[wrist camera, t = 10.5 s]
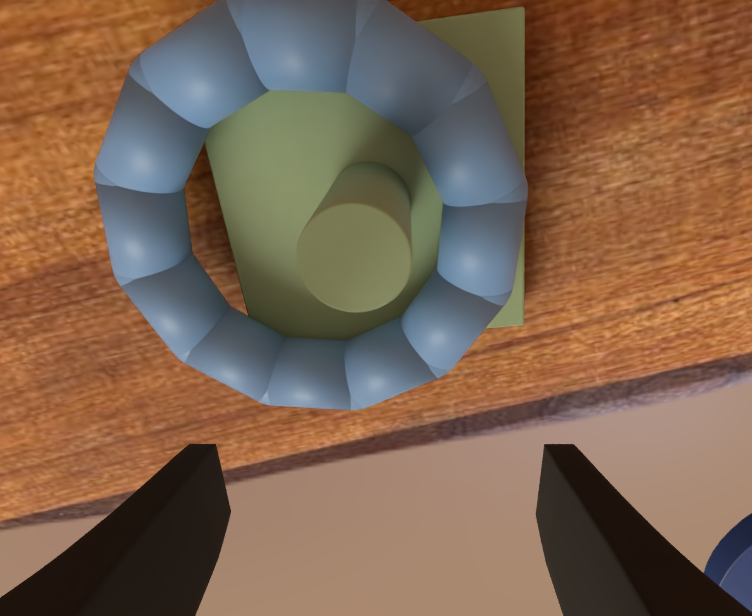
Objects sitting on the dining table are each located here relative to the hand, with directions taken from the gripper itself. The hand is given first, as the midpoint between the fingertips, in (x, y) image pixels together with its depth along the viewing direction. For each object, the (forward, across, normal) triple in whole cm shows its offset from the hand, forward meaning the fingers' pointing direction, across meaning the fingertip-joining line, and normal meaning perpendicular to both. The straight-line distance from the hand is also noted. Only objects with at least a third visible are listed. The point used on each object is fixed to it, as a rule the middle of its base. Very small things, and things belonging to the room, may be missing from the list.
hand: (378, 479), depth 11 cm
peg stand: (+7, 0, -5) cm, 9 cm away
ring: (+5, +2, -4) cm, 7 cm away
